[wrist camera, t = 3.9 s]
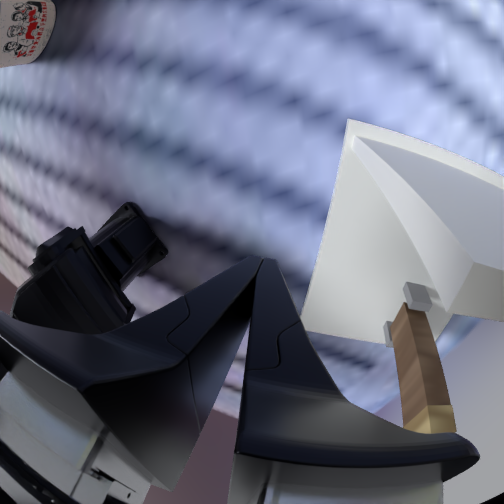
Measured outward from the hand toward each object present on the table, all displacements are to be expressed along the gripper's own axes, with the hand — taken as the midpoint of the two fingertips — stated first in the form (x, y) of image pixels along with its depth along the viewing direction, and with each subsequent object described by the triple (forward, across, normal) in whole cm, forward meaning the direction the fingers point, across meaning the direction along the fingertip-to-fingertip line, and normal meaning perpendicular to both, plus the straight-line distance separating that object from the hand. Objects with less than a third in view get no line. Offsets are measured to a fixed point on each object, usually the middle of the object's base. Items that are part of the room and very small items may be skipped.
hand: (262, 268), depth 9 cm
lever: (+10, -12, +9) cm, 18 cm away
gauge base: (+13, -12, +5) cm, 18 cm away
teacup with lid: (+13, +30, -18) cm, 37 cm away
